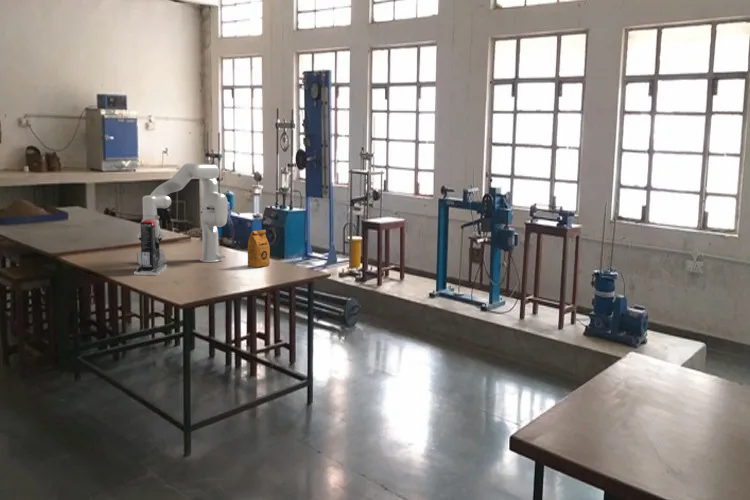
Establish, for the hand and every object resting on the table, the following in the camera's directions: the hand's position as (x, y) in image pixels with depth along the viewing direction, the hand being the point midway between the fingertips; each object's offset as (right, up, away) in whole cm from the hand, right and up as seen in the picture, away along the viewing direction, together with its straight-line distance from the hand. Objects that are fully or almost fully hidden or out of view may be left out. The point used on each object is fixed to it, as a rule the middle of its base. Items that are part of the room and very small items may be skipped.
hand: (150, 248), depth 384 cm
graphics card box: (0, -10, +2) cm, 11 cm away
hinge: (-8, -9, +24) cm, 27 cm away
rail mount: (-1, -12, +2) cm, 13 cm away
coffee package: (+57, -11, +26) cm, 63 cm away
